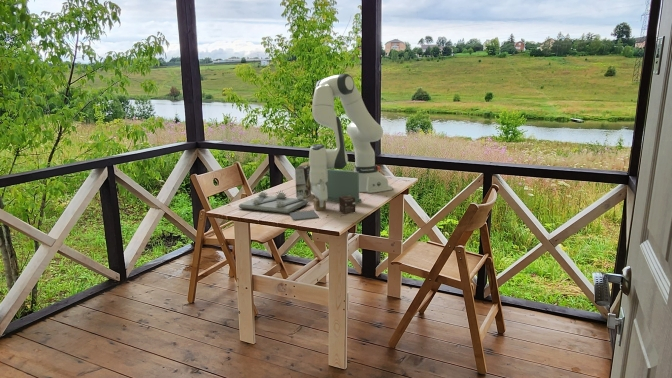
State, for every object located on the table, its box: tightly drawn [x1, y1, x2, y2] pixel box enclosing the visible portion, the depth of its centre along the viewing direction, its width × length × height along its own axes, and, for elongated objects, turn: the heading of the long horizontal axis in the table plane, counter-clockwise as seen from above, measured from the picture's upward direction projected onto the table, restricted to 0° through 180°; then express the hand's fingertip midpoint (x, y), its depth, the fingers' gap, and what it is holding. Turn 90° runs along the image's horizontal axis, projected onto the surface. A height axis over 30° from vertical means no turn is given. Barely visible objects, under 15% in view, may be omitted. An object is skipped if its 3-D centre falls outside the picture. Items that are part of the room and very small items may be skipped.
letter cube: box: [313, 197, 327, 212], centre depth 239 cm, size 5×5×5 cm
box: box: [338, 196, 356, 215], centre depth 233 cm, size 6×6×7 cm
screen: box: [325, 168, 362, 205], centre depth 254 cm, size 22×6×16 cm, turn 60°
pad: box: [288, 209, 320, 221], centre depth 229 cm, size 12×12×1 cm
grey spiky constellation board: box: [238, 190, 310, 214], centre depth 246 cm, size 30×22×7 cm
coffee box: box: [294, 165, 312, 198], centre depth 267 cm, size 9×6×16 cm
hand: (319, 205), depth 239 cm, fingers closed on letter cube, 5 cm apart
